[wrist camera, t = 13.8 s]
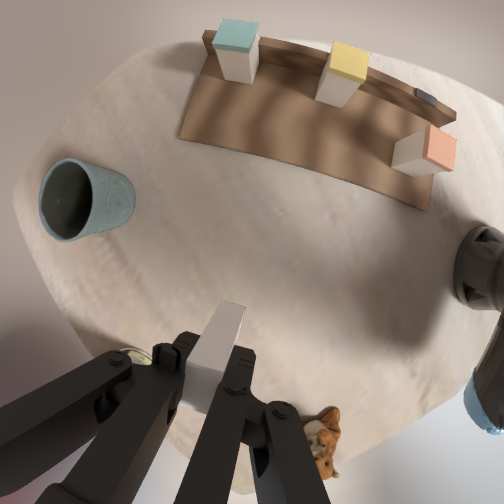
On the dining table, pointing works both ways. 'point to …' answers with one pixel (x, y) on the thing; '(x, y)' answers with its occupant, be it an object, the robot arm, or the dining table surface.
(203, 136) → the button console
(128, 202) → the blue-grey embossed cup
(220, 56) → the button
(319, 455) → the stuffed squirrel
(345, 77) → the middle button
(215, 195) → the dining table surface
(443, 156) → the button
